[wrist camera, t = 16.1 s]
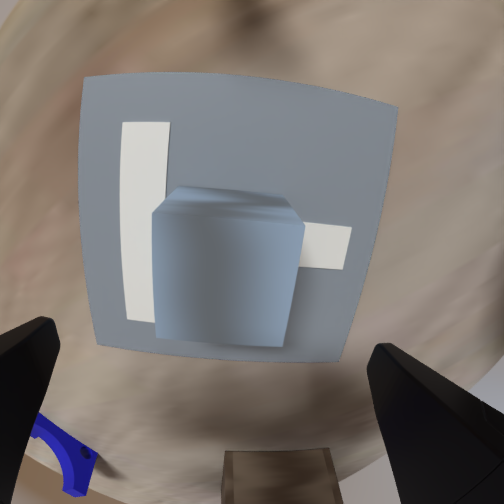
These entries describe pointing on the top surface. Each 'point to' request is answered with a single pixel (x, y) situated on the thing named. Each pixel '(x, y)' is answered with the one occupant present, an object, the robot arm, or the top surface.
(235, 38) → the top surface
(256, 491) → the open brown box
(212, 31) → the top surface
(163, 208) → the blue cube
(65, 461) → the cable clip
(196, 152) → the letter sheet
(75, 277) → the top surface
